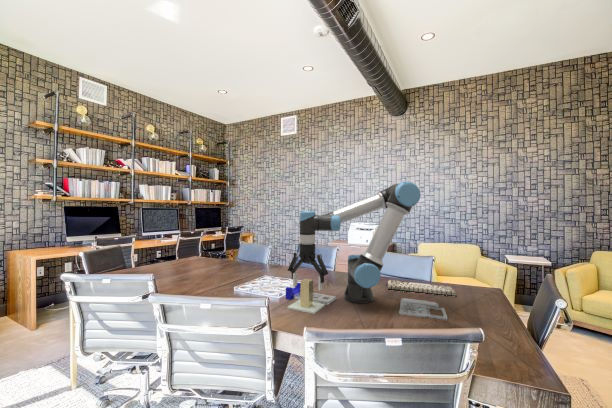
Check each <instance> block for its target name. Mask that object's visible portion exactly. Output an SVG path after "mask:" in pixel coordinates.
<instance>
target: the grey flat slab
mask: <svg viewBox="0 0 612 408" xmlns="http://www.w3.org/2000/svg"><path fill="white" fill-rule="evenodd" d="M399 305H400V306H399V309H398V315H399V314H401V315H400V316H405V315H409V316H408V317H413V316H416V317H415V318H420V317H424V318H423V319H426V318H425V317H429V318H428V319H433V318H436V319H435V320H441V319H442V321H448V315H447V312H446V310H445V308H444V307H440V306H439V303H437V302H436V301H433V300H422V299H414V298H406V297H405V298H400V304H399ZM431 309H435V310H434V311H439V310H441V313H442V315H436V314H431V312H430V311H431Z"/></svg>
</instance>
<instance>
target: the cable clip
mask: <svg viewBox="0 0 612 408" xmlns="http://www.w3.org/2000/svg"><path fill="white" fill-rule="evenodd" d="M300 290H301V282H297V286H295V287H289V286H287V287H285V300H290V301H291V300H294V299H293V295H295V294H297V293H299V292H300Z"/></svg>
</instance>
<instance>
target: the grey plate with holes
mask: <svg viewBox="0 0 612 408" xmlns="http://www.w3.org/2000/svg"><path fill="white" fill-rule="evenodd" d="M292 300H297V301H298V300H300V292H299V293H297V294H295V295H293V299H292ZM336 300H337V296H335V295H329V294H323V293H317V292H313V302H315V303H321V304H325V306H330V305H331V304H332V303H333V302H335V301H336Z"/></svg>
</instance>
